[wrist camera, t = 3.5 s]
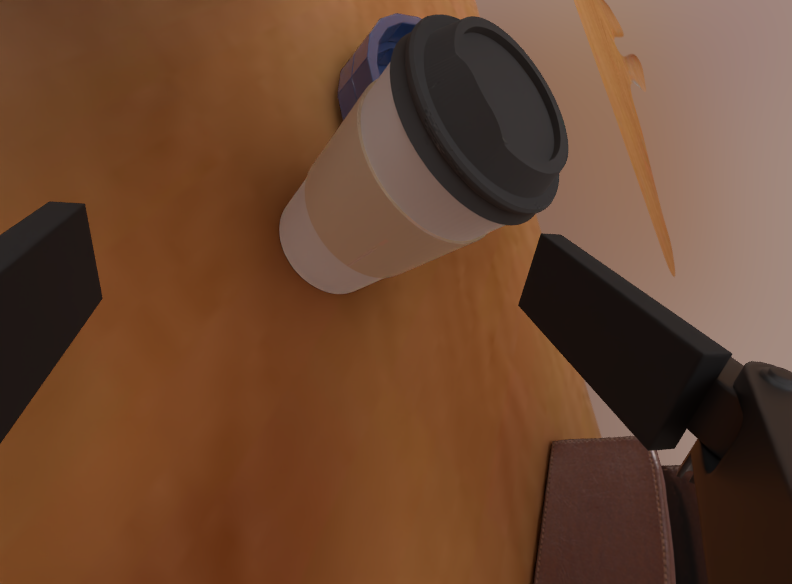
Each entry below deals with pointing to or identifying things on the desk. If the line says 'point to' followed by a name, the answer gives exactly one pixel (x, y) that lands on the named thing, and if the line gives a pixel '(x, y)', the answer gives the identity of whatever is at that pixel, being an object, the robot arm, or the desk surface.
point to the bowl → (371, 58)
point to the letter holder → (617, 517)
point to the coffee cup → (428, 158)
